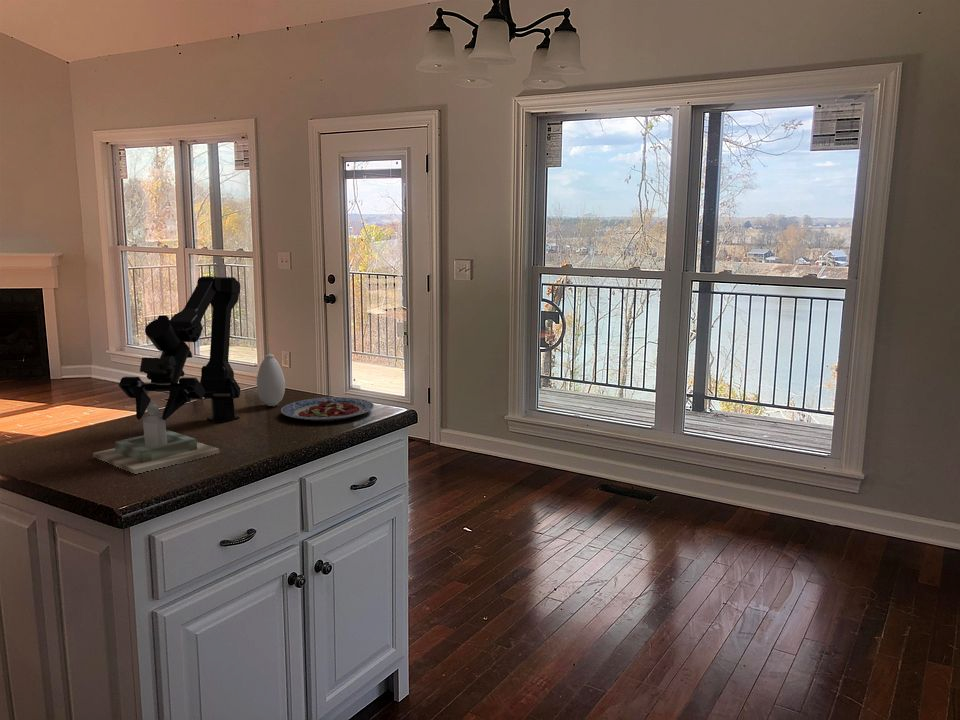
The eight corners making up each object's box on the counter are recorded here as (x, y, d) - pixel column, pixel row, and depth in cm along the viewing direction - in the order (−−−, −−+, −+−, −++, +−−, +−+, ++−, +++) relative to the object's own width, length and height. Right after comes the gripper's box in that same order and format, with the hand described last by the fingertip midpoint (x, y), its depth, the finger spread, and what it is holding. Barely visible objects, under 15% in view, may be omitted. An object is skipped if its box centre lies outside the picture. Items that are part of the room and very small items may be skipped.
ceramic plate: (320, 401, 234) (319, 391, 233) (391, 409, 223) (391, 399, 222) (261, 420, 211) (260, 409, 211) (337, 430, 200) (337, 419, 199)
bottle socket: (93, 457, 177) (92, 442, 176) (175, 439, 192) (174, 425, 191) (135, 475, 164) (133, 458, 163) (219, 453, 179) (218, 438, 178)
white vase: (291, 404, 228) (288, 345, 225) (271, 410, 222) (267, 348, 219) (272, 401, 233) (269, 343, 230) (252, 407, 226) (249, 346, 223)
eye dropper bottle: (148, 454, 174) (143, 403, 172) (144, 449, 179) (140, 398, 177) (168, 451, 177) (164, 400, 175) (164, 446, 181) (160, 396, 179)
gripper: (119, 342, 178) (94, 399, 170) (195, 343, 176) (174, 401, 167) (141, 369, 187) (119, 425, 179) (213, 370, 185) (194, 426, 176)
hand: (150, 419), depth 175 cm, fingers open, 6 cm apart
